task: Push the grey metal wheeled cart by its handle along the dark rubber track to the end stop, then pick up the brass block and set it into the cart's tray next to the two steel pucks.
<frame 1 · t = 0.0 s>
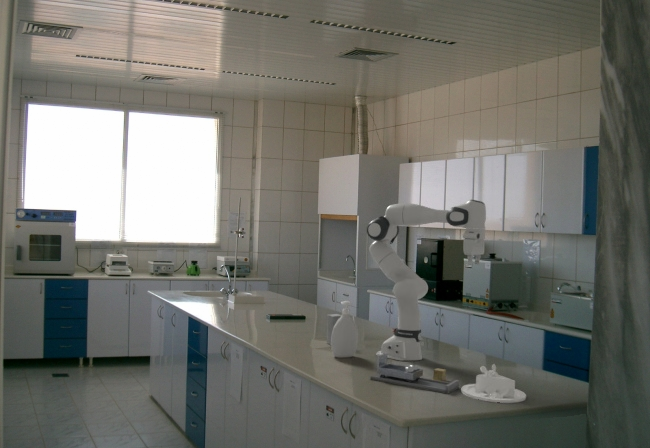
hand: (473, 264, 306), 48 cm above the worktop, tool pointing down, fingers open, 8 cm apart
steel puck A: (413, 372, 273), point 4 cm above the worktop, touching cart
skincare box: (334, 345, 347), on the worktop
soap bottle: (342, 356, 318), on the worktop
brass block: (439, 380, 279), on the worktop
track: (414, 383, 271), on the worktop
steel puck B: (409, 374, 270), point 4 cm above the worktop, touching cart
dish: (492, 395, 260), on the worktop
cart: (399, 368, 274), point 5 cm above the worktop, slide at 0.0 cm, touching steel puck A, steel puck B
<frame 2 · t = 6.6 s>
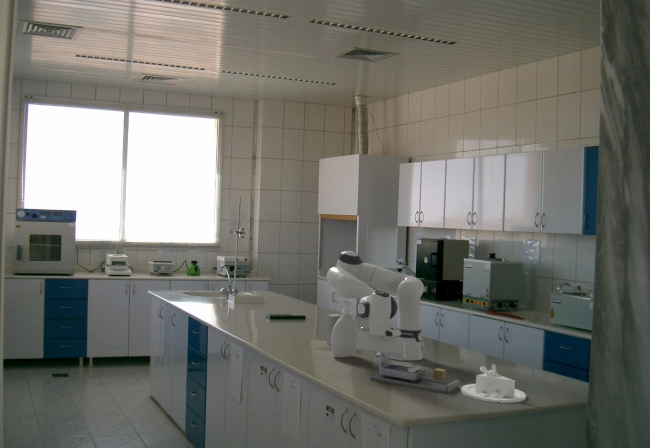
hand: (378, 362, 279), 6 cm above the worktop, tool pointing down, fingers closed
steel puck A: (415, 373, 273), point 4 cm above the worktop, touching cart
steel puck B: (411, 375, 269), point 4 cm above the worktop, touching cart
cart: (401, 368, 274), point 5 cm above the worktop, slide at 1.0 cm, touching gripper, steel puck A, steel puck B
everything else where it was.
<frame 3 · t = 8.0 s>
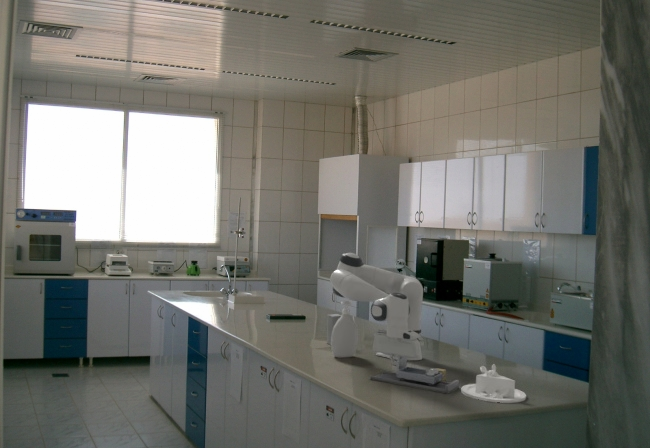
hand: (395, 365, 275), 6 cm above the worktop, tool pointing down, fingers closed
steel puck A: (433, 376, 269), point 4 cm above the worktop, touching cart
steel puck B: (429, 378, 265), point 4 cm above the worktop, touching cart
cart: (419, 371, 270), point 5 cm above the worktop, slide at 9.0 cm, touching gripper, steel puck A, steel puck B
everything else where it was.
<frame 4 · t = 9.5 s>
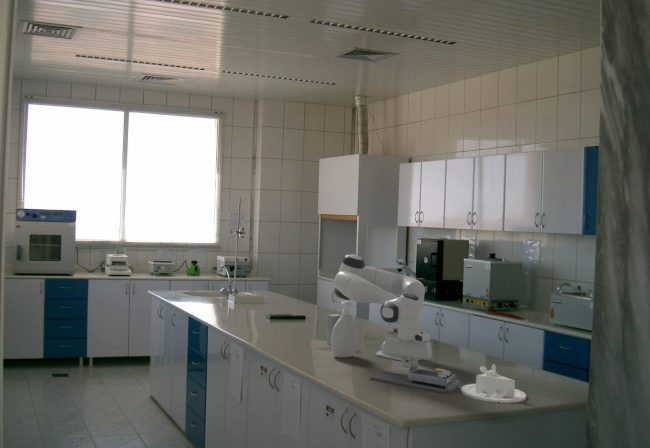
hand: (406, 367, 273), 6 cm above the worktop, tool pointing down, fingers closed
steel puck A: (445, 378, 266), point 4 cm above the worktop, touching cart
steel puck B: (441, 380, 262), point 4 cm above the worktop, touching cart
cart: (431, 373, 267), point 5 cm above the worktop, slide at 14.1 cm, touching gripper, steel puck A, steel puck B, track
everything else where it was.
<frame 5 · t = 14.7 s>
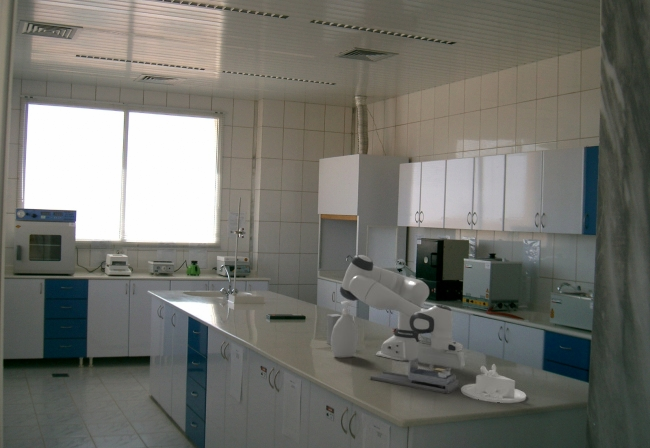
hand: (439, 376, 279), 2 cm above the worktop, tool pointing down, fingers closed on brass block, 4 cm apart
brass block: (439, 380, 279), on the worktop, touching gripper
cart: (431, 373, 267), point 5 cm above the worktop, slide at 14.1 cm, touching steel puck A, steel puck B
everything else where it was.
when the fingers open (6 cm above the worktop, at t = 18.9 s): brass block stays where it is, resting on cart.
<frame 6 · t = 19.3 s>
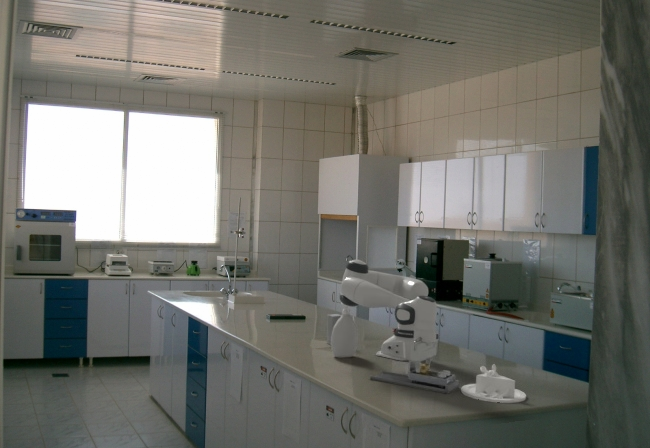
hand: (422, 370, 269), 6 cm above the worktop, tool pointing down, fingers open, 8 cm apart
brass block: (422, 375, 269), point 4 cm above the worktop, touching cart
cart: (431, 373, 267), point 5 cm above the worktop, slide at 14.1 cm, touching brass block, steel puck A, steel puck B
everything else where it was.
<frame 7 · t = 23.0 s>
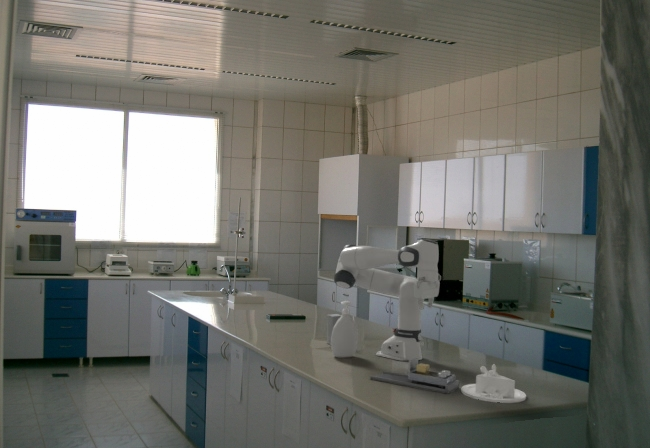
hand: (425, 308, 286), 29 cm above the worktop, tool pointing down, fingers open, 8 cm apart
nothing on the worktop moved.
at the end: cart slide at 14.1 cm; brass block inside the target area (3.0 cm from its centre), point 3.7 cm above the worktop; the gripper is holding nothing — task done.
